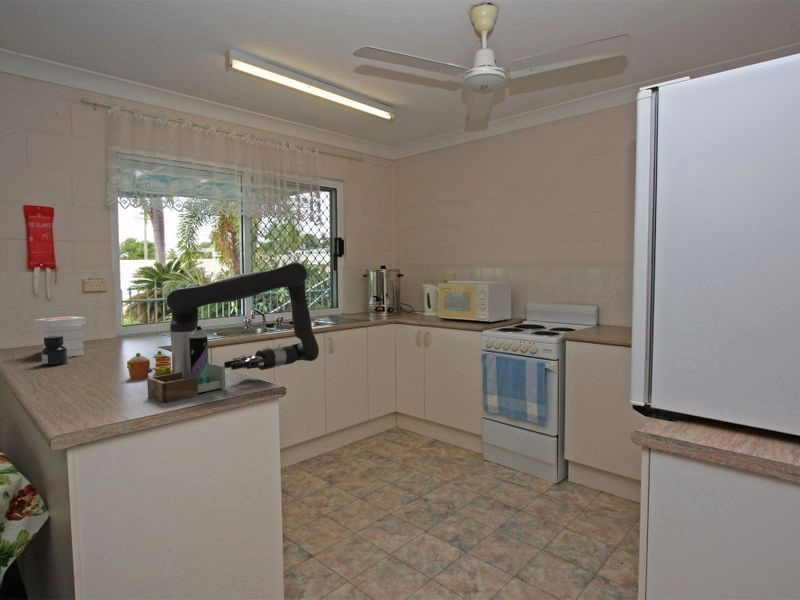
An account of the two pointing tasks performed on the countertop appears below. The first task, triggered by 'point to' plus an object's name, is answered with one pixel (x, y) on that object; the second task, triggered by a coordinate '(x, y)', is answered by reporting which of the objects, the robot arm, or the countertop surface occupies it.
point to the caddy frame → (172, 387)
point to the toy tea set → (141, 366)
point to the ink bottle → (54, 351)
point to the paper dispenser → (64, 332)
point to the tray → (214, 378)
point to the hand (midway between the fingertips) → (228, 365)
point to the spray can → (199, 355)
